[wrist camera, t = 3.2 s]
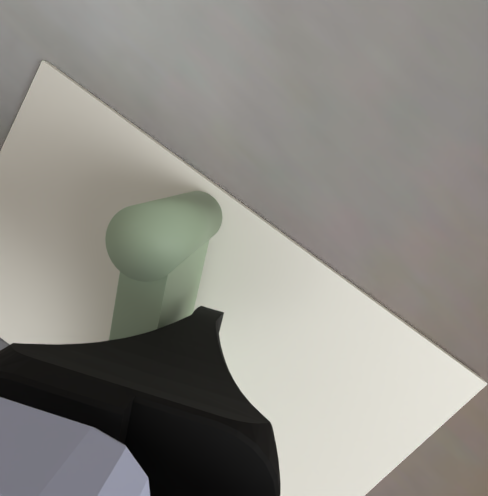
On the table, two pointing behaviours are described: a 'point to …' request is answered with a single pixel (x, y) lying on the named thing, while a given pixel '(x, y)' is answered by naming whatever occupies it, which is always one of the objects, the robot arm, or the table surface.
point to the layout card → (216, 295)
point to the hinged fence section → (159, 259)
